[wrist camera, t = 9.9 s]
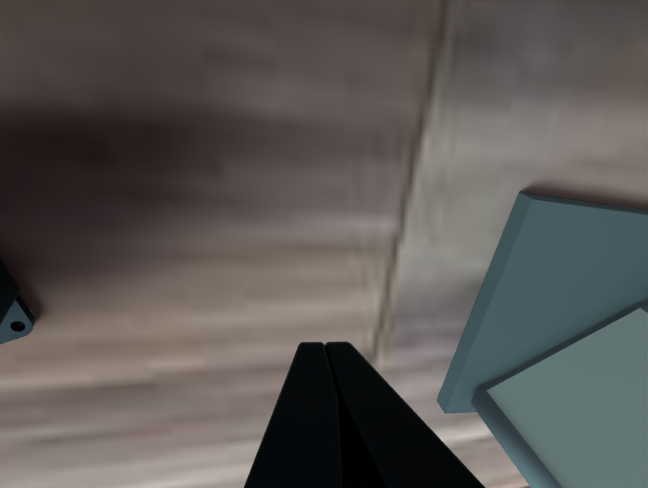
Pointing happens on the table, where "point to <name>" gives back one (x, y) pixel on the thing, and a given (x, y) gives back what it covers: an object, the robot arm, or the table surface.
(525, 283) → the housing
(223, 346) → the table surface
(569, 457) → the door
